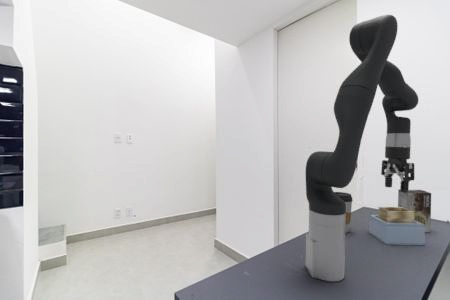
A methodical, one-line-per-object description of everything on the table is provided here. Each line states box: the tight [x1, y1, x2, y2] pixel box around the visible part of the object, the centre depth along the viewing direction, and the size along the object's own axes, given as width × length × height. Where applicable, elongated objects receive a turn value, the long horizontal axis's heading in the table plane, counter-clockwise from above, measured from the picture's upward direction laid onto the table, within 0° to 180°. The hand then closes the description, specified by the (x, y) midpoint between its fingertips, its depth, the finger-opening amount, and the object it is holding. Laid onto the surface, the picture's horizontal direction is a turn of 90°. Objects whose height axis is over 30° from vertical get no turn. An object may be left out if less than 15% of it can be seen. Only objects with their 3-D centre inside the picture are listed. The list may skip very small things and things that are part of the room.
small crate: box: [377, 206, 414, 223], centre depth 88 cm, size 9×6×5 cm, turn 87°
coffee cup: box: [333, 191, 353, 234], centre depth 96 cm, size 8×8×15 cm
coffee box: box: [397, 189, 432, 233], centre depth 97 cm, size 9×6×16 cm
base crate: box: [368, 214, 426, 246], centre depth 88 cm, size 13×11×7 cm
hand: (395, 189), depth 88 cm, fingers open, 8 cm apart
